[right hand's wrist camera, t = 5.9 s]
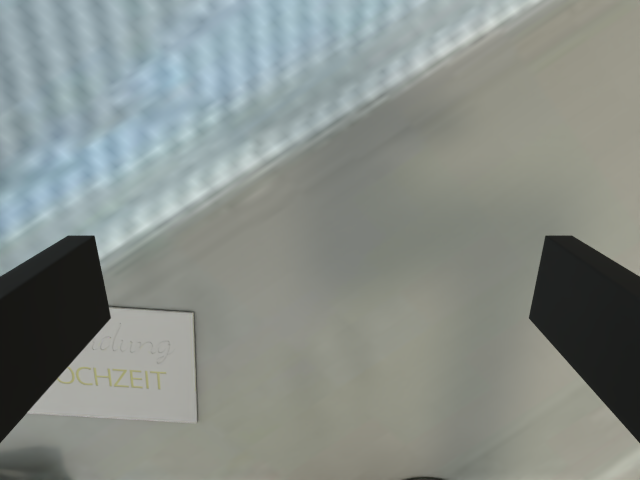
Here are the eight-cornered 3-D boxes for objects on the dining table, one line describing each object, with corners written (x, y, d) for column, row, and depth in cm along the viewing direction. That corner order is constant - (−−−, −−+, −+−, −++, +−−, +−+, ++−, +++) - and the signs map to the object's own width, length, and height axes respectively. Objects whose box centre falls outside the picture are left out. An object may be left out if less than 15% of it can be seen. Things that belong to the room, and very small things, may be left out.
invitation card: (14, 413, 49) (-12, 300, 44) (16, 411, 49) (-10, 299, 44) (196, 423, 50) (192, 313, 44) (197, 422, 50) (193, 312, 45)
